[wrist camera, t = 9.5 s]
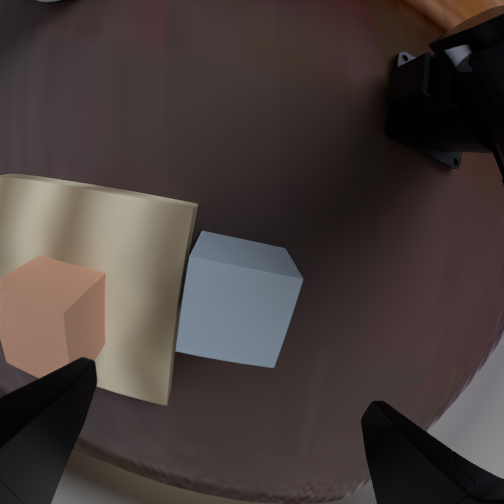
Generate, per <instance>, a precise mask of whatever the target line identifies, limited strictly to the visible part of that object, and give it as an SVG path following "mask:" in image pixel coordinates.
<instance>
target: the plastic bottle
mask: <svg viewBox="0 0 504 504" xmlns="http://www.w3.org/2000/svg"><path fill="white" fill-rule="evenodd" d="M38 1H41V2H55V1H59V0H38Z"/></svg>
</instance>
